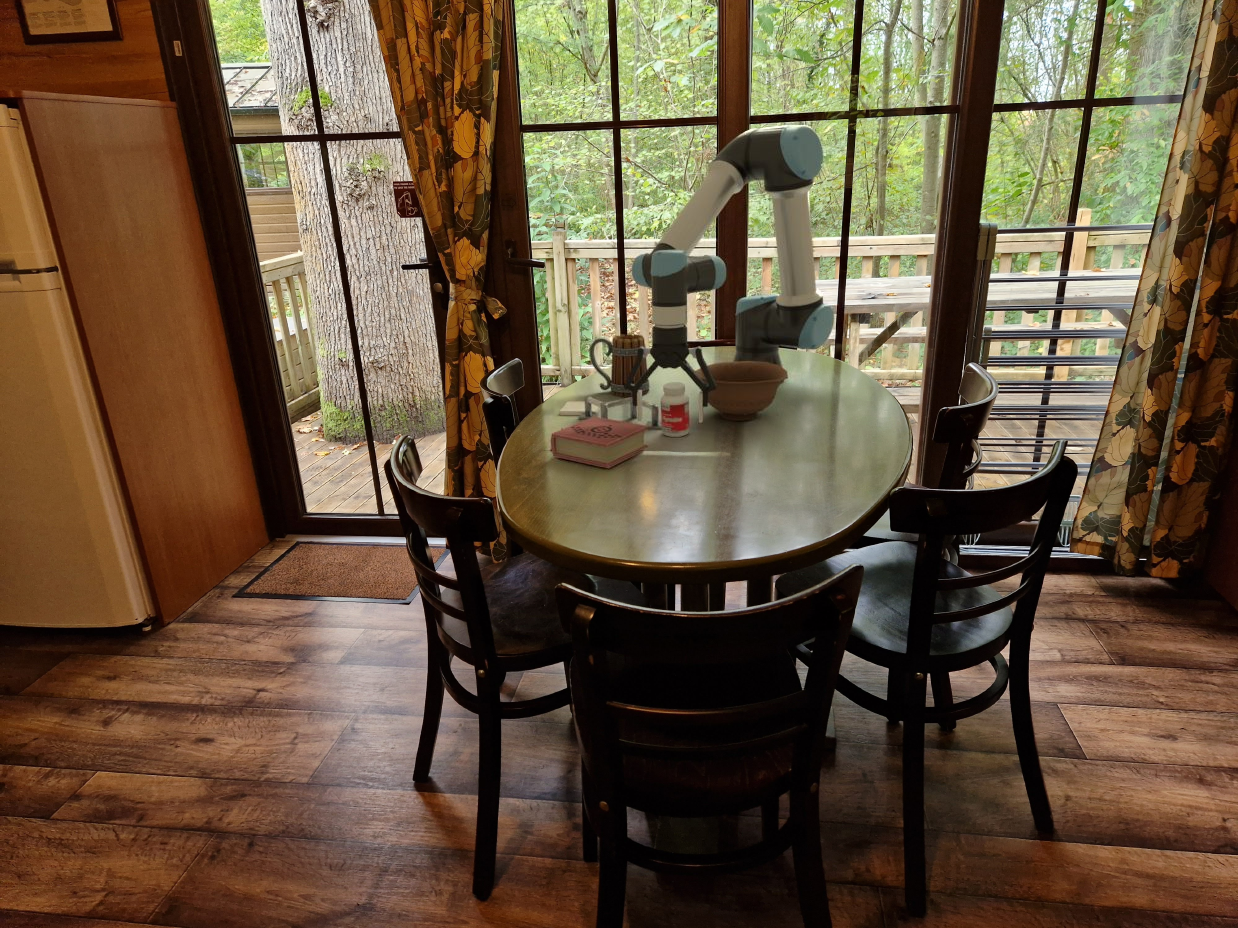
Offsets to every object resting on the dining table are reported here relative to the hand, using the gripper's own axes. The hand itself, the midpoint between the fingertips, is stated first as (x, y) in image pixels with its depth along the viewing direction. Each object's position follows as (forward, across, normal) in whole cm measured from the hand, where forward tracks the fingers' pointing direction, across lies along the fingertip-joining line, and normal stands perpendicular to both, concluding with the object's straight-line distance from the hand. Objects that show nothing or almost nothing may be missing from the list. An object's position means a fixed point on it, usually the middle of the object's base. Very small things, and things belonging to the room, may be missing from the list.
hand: (670, 420), depth 175 cm
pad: (+3, +24, -17) cm, 30 cm away
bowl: (+3, -15, -14) cm, 21 cm away
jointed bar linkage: (+3, +12, -8) cm, 15 cm away
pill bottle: (+3, -1, +1) cm, 3 cm away
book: (+4, +14, +13) cm, 19 cm away
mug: (+3, +17, -35) cm, 39 cm away
